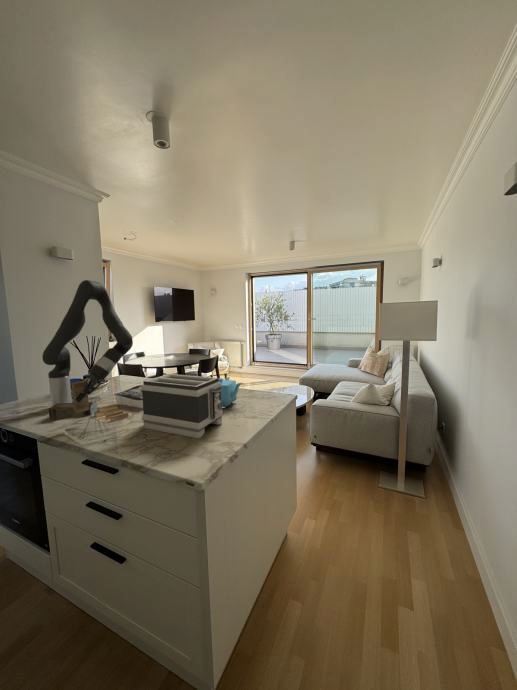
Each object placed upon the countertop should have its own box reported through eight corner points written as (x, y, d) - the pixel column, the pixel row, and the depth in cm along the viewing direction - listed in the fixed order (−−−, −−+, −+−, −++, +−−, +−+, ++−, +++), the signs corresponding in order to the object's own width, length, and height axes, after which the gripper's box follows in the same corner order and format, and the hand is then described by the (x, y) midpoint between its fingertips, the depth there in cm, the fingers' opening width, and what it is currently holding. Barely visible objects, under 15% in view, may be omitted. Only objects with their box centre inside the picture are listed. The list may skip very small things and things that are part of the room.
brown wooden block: (73, 411, 124) (71, 382, 122) (86, 408, 128) (83, 380, 126) (76, 413, 122) (74, 383, 120) (89, 409, 126) (86, 381, 124)
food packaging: (173, 388, 162) (142, 398, 142) (174, 400, 163) (143, 413, 143) (142, 384, 173) (109, 393, 153) (143, 396, 174) (110, 407, 154)
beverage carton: (91, 418, 137) (90, 404, 136) (48, 421, 134) (46, 407, 134) (98, 412, 145) (97, 400, 144) (57, 415, 142) (56, 402, 141)
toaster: (208, 441, 109) (206, 388, 107) (142, 428, 123) (139, 381, 121) (231, 424, 126) (230, 378, 124) (171, 414, 140) (168, 373, 137)
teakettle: (199, 403, 157) (198, 377, 156) (230, 398, 166) (229, 373, 165) (210, 413, 141) (209, 384, 139) (244, 406, 150) (243, 379, 148)
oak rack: (91, 418, 135) (90, 408, 135) (118, 411, 145) (117, 401, 145) (106, 426, 126) (105, 415, 125) (134, 417, 136) (133, 407, 135)
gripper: (89, 362, 133) (61, 393, 124) (102, 365, 124) (74, 398, 116) (101, 371, 138) (76, 402, 129) (115, 374, 129) (89, 407, 121)
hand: (75, 400), depth 123 cm, fingers closed on brown wooden block, 3 cm apart
